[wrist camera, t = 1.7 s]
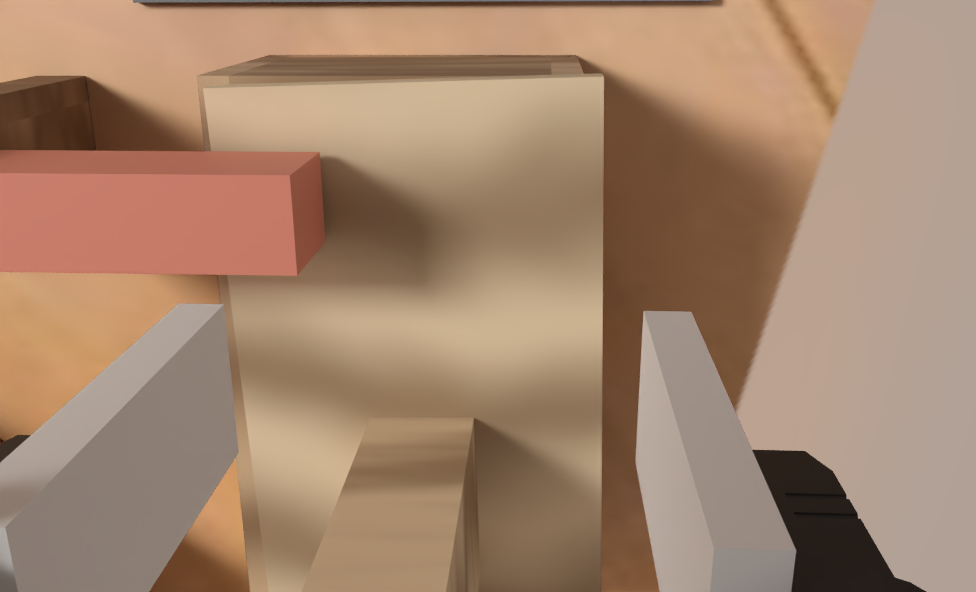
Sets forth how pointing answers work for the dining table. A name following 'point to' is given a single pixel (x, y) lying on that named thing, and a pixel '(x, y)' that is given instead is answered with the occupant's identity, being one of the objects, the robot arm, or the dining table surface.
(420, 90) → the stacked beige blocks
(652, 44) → the dining table surface
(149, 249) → the red block
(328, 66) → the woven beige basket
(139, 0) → the mat
